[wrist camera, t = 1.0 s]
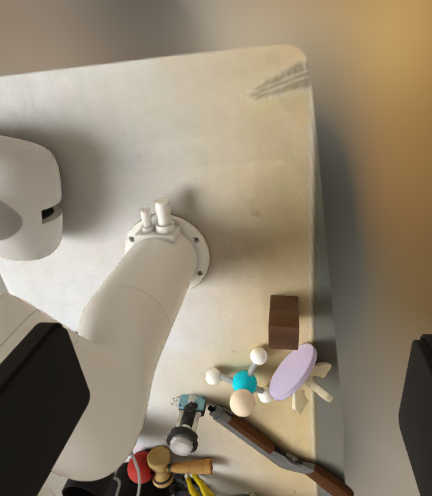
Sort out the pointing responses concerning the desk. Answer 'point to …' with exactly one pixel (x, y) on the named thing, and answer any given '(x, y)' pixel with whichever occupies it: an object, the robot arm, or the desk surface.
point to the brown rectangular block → (284, 322)
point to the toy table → (299, 377)
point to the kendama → (164, 467)
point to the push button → (186, 424)
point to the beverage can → (182, 487)
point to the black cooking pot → (134, 486)
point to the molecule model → (244, 385)
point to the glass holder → (97, 485)
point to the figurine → (206, 492)
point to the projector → (28, 201)
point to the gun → (278, 452)
